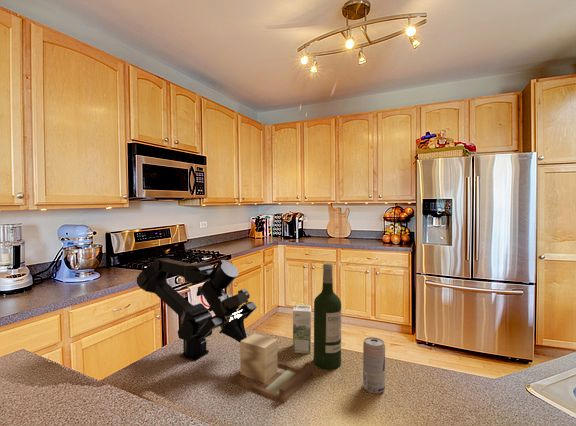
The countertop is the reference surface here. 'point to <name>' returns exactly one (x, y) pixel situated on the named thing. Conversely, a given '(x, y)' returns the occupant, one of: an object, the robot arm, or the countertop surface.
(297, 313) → the syrup box
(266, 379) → the maple block
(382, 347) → the energy drink
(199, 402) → the countertop surface
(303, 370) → the tray
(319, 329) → the wine bottle
